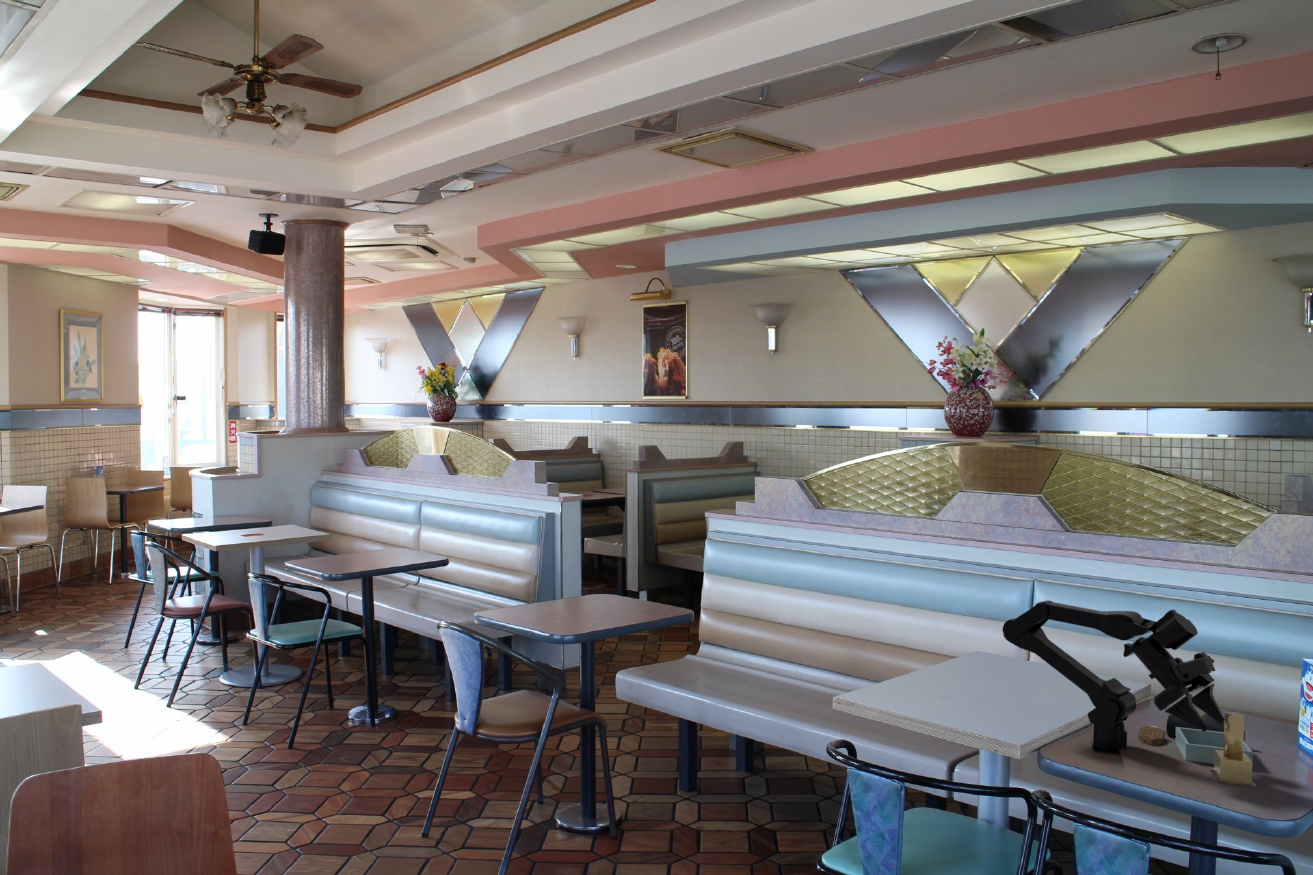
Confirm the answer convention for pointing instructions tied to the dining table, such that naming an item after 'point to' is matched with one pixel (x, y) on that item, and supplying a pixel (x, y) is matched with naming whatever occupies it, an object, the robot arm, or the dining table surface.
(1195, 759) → the bin
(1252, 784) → the plate
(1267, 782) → the dining table surface
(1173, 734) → the pipe connector
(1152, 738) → the ice cream bar
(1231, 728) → the gold trophy
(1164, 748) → the dining table surface
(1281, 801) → the dining table surface
